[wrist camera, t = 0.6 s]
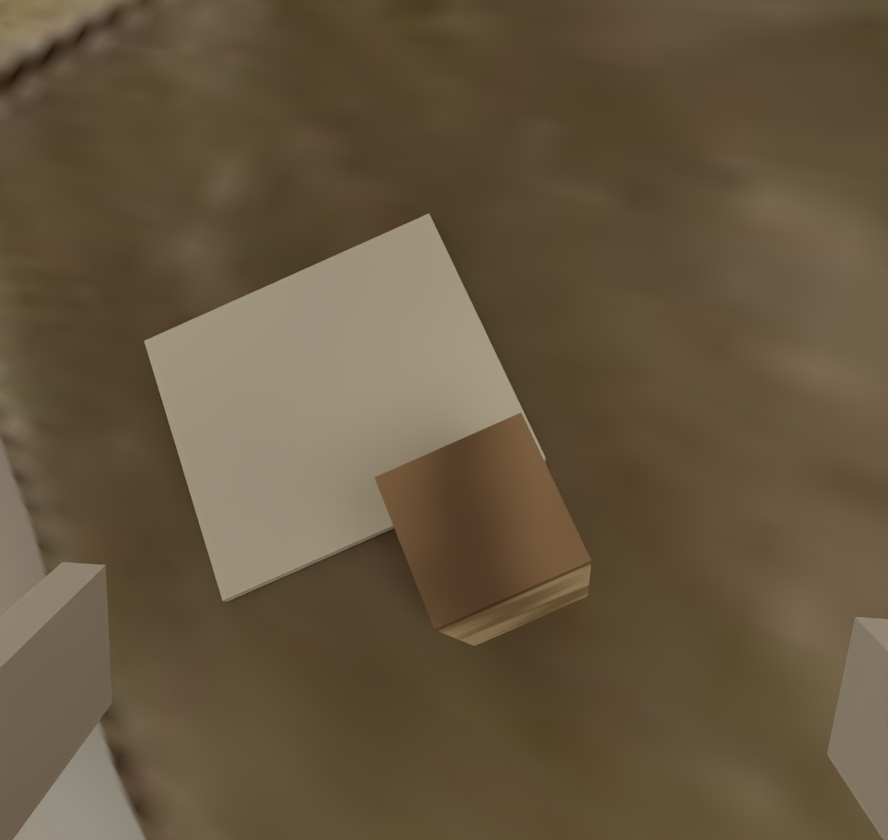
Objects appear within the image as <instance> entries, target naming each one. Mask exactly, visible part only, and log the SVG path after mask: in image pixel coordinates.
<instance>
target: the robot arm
mask: <svg viewBox="0 0 888 840" xmlns="http://www.w3.org/2000/svg"><path fill="white" fill-rule="evenodd" d="M111 704H112V693H111V672H110V650H109V628H108V606H107V585H106V565H96V564H82V563H67V562H62V563H61V564H60V565H59V566H57V567H56V568H55V569H54V570H53V571H52V572H51V573H49V574H48V575H47V576H46V577H45V578H44V579H42V580H41V581H40V582H39V583H38V584H37V585H36V586H34V587H33V588H32V589H31V590H30V591H28V592H27V593H26V594H25V595H24V596H23V597H22V598H20V599H19V600H18V601H17V602H16V603H15V604H13V605H12V606H11V607H10V608H9V609H8V610H6V611H5V612H4V613H3V614H2V615H1V616H0V840H13V839H14V837H15V836H16V834H17V833H18V832H19V830H20V829H21V828H22V826H23V825H24V823H25V822H26V821H27V819H28V818H29V816H30V815H31V814H32V812H33V811H34V810H35V808H36V807H37V805H38V804H39V803H40V801H41V800H42V799H43V797H44V796H45V794H46V793H47V792H48V790H49V789H50V788H51V786H52V785H53V784H54V782H55V781H56V779H57V778H58V776H59V775H60V774H61V773H62V771H63V770H64V768H65V767H66V766H67V764H68V763H69V762H70V760H71V759H72V757H73V756H74V755H75V753H76V752H77V750H78V749H79V748H80V746H81V745H82V744H83V742H84V741H85V739H86V738H87V737H88V735H89V734H90V733H91V731H92V730H93V728H94V727H95V726H96V724H97V723H98V722H99V720H100V719H101V717H102V716H103V715H104V713H105V712H106V711H107V709H108V708H109V706H110V705H111ZM827 755H828V756H829V758H830V759H831V761H832V763H833V764H834V766H835V767H836V769H837V770H838V772H839V773H840V775H841V776H842V778H843V779H844V781H845V782H846V784H847V785H848V787H849V788H850V790H851V791H852V793H853V795H854V796H855V798H856V799H857V801H858V802H859V804H860V805H861V807H862V808H863V810H864V811H865V813H866V814H867V816H868V817H869V819H870V820H871V822H872V823H873V825H874V827H875V828H876V830H877V831H878V833H879V834H880V836H881V837H882V839H883V840H888V619H877V618H863V617H855V620H854V625H853V630H852V635H851V640H850V645H849V650H848V655H847V660H846V664H845V669H844V674H843V679H842V684H841V689H840V694H839V699H838V704H837V709H836V714H835V718H834V723H833V728H832V733H831V738H830V743H829V748H828V753H827Z"/></svg>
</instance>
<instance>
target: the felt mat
mask: <svg viewBox="0 0 888 840" xmlns="http://www.w3.org/2000/svg"><path fill="white" fill-rule="evenodd" d="M144 342H145V346H146V349H147V352H148V356H149V359H150V362H151V365H152V369H153V372H154V375H155V379H156V382H157V385H158V389H159V392H160V395H161V399H162V402H163V405H164V409H165V412H166V415H167V418H168V422H169V425H170V428H171V432H172V435H173V438H174V442H175V445H176V448H177V452H178V455H179V458H180V462H181V465H182V468H183V471H184V475H185V478H186V481H187V485H188V488H189V491H190V495H191V498H192V501H193V505H194V508H195V511H196V515H197V518H198V521H199V524H200V528H201V531H202V534H203V538H204V541H205V544H206V548H207V551H208V554H209V558H210V561H211V564H212V568H213V571H214V574H215V577H216V581H217V584H218V587H219V591H220V594H221V597H222V601H226V602H228V601H230V600H232V599H235V598H237V597H239V596H242V595H244V594H246V593H248V592H251V591H253V590H255V589H257V588H260V587H262V586H264V585H267V584H269V583H271V582H273V581H276V580H278V579H280V578H282V577H285V576H287V575H289V574H291V573H294V572H296V571H298V570H301V569H303V568H305V567H307V566H310V565H312V564H314V563H316V562H319V561H321V560H323V559H326V558H328V557H330V556H332V555H335V554H337V553H339V552H341V551H344V550H346V549H348V548H350V547H353V546H355V545H357V544H360V543H362V542H364V541H366V540H369V539H371V538H373V537H375V536H378V535H380V534H382V533H384V532H387V531H389V530H391V529H394V526H393V524H392V521H391V519H390V516H389V513H388V511H387V508H386V506H385V503H384V501H383V498H382V496H381V493H380V490H379V488H378V485H377V483H376V480H375V478H374V477H376V476H379V475H381V474H383V473H385V472H388V471H390V470H392V469H394V468H397V467H399V466H401V465H403V464H406V463H408V462H410V461H413V460H415V459H417V458H419V457H422V456H424V455H426V454H428V453H431V452H433V451H435V450H437V449H440V448H442V447H444V446H446V445H449V444H451V443H453V442H456V441H458V440H460V439H462V438H465V437H467V436H469V435H471V434H474V433H476V432H478V431H480V430H483V429H485V428H487V427H489V426H492V425H494V424H496V423H499V422H501V421H503V420H505V419H508V418H510V417H512V416H514V415H517V414H519V413H522V415H523V417H524V419H525V421H526V423H527V425H528V428H529V430H530V432H531V434H532V436H533V438H534V440H535V442H536V444H537V447H538V449H539V451H540V453H541V455H542V457H543V459H544V461H545V462H546V458H545V456H544V454H543V451H542V449H541V447H540V445H539V443H538V441H537V439H536V437H535V435H534V433H533V430H532V428H531V426H530V424H529V422H528V420H527V418H526V416H525V414H524V412H523V409H522V407H521V405H520V403H519V401H518V399H517V397H516V395H515V393H514V391H513V388H512V386H511V384H510V382H509V380H508V378H507V376H506V374H505V372H504V370H503V367H502V365H501V363H500V361H499V359H498V357H497V355H496V353H495V351H494V349H493V346H492V344H491V342H490V340H489V338H488V336H487V334H486V332H485V330H484V328H483V325H482V323H481V321H480V319H479V317H478V315H477V313H476V311H475V309H474V307H473V304H472V302H471V300H470V298H469V296H468V294H467V292H466V290H465V288H464V286H463V283H462V281H461V279H460V277H459V275H458V273H457V271H456V269H455V267H454V265H453V262H452V260H451V258H450V256H449V254H448V252H447V250H446V248H445V246H444V243H443V241H442V239H441V237H440V235H439V233H438V231H437V229H436V227H435V225H434V222H433V220H432V218H431V216H430V214H427V215H425V216H422V217H420V218H418V219H416V220H413V221H411V222H409V223H407V224H404V225H402V226H400V227H398V228H395V229H393V230H391V231H389V232H387V233H384V234H382V235H380V236H378V237H375V238H373V239H371V240H369V241H366V242H364V243H362V244H360V245H357V246H355V247H353V248H351V249H349V250H346V251H344V252H342V253H340V254H337V255H335V256H333V257H331V258H328V259H326V260H324V261H322V262H319V263H317V264H315V265H313V266H310V267H308V268H306V269H304V270H302V271H299V272H297V273H295V274H293V275H290V276H288V277H286V278H284V279H281V280H279V281H277V282H275V283H272V284H270V285H268V286H266V287H264V288H261V289H259V290H257V291H255V292H252V293H250V294H248V295H246V296H243V297H241V298H239V299H237V300H234V301H232V302H230V303H228V304H226V305H223V306H221V307H219V308H217V309H214V310H212V311H210V312H208V313H205V314H203V315H201V316H199V317H196V318H194V319H192V320H190V321H188V322H185V323H183V324H181V325H179V326H176V327H174V328H172V329H170V330H167V331H165V332H163V333H161V334H158V335H156V336H154V337H152V338H150V339H147V340H145V341H144Z"/></svg>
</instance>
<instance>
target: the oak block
mask: <svg viewBox="0 0 888 840" xmlns="http://www.w3.org/2000/svg"><path fill="white" fill-rule="evenodd" d="M374 478H375V480H376V483H377V485H378V488H379V490H380V493H381V496H382V498H383V501H384V503H385V506H386V508H387V511H388V513H389V516H390V519H391V521H392V524H393V526H394V529H395V531H396V534H397V536H398V539H399V542H400V544H401V547H402V549H403V552H404V554H405V557H406V559H407V562H408V565H409V567H410V570H411V572H412V575H413V577H414V580H415V582H416V585H417V588H418V590H419V593H420V595H421V598H422V600H423V603H424V606H425V608H426V611H427V613H428V616H429V618H430V621H431V623H432V626H433V629H434V630H436V631H439V632H441V633H444V634H446V635H448V636H451V637H453V638H456V639H458V640H461V641H463V642H466V643H468V644H470V645H473V646H476V645H478V644H480V643H483V642H485V641H487V640H489V639H492V638H494V637H496V636H499V635H501V634H503V633H505V632H508V631H510V630H512V629H515V628H517V627H519V626H521V625H524V624H526V623H528V622H531V621H533V620H535V619H537V618H540V617H542V616H544V615H547V614H549V613H551V612H553V611H556V610H558V609H560V608H563V607H565V606H567V605H569V604H572V603H574V602H576V601H579V600H581V599H583V598H585V597H588V588H589V579H590V570H591V561H592V560H591V558H590V556H589V554H588V552H587V550H586V548H585V546H584V543H583V541H582V539H581V537H580V535H579V533H578V531H577V529H576V527H575V524H574V522H573V520H572V518H571V516H570V514H569V512H568V510H567V508H566V506H565V503H564V501H563V499H562V497H561V495H560V493H559V491H558V489H557V487H556V484H555V482H554V480H553V478H552V476H551V474H550V472H549V470H548V468H547V465H546V463H545V461H544V459H543V457H542V455H541V453H540V451H539V449H538V447H537V444H536V442H535V440H534V438H533V436H532V434H531V432H530V430H529V428H528V425H527V423H526V421H525V419H524V417H523V415H522V413H519V414H517V415H514V416H512V417H510V418H508V419H505V420H503V421H501V422H499V423H496V424H494V425H492V426H489V427H487V428H485V429H483V430H480V431H478V432H476V433H474V434H471V435H469V436H467V437H465V438H462V439H460V440H458V441H456V442H453V443H451V444H449V445H446V446H444V447H442V448H440V449H437V450H435V451H433V452H431V453H428V454H426V455H424V456H422V457H419V458H417V459H415V460H413V461H410V462H408V463H406V464H403V465H401V466H399V467H397V468H394V469H392V470H390V471H388V472H385V473H383V474H381V475H379V476H376V477H374Z"/></svg>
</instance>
